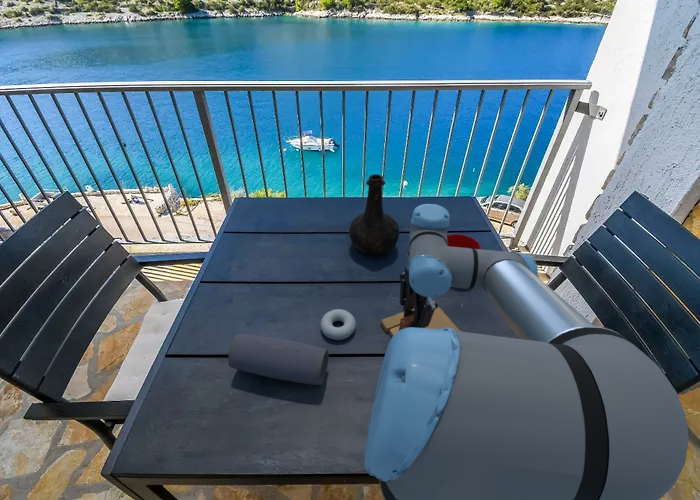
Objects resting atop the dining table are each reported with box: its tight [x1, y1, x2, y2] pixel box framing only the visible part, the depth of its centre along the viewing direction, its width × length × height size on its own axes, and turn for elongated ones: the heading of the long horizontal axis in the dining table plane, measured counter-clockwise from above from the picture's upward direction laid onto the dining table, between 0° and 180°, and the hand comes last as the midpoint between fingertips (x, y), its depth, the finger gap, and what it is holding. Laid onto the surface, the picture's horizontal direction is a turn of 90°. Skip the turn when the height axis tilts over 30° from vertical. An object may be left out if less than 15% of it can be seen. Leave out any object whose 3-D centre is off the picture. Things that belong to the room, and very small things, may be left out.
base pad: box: [380, 300, 461, 333], centre depth 97 cm, size 16×18×2 cm
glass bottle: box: [348, 173, 400, 256], centre depth 119 cm, size 18×18×28 cm
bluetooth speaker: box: [227, 333, 330, 386], centre depth 85 cm, size 23×9×10 cm, turn 78°
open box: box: [389, 314, 414, 338], centre depth 93 cm, size 8×8×9 cm
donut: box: [320, 308, 357, 341], centre depth 98 cm, size 10×3×10 cm
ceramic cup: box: [447, 233, 483, 250], centre depth 117 cm, size 13×17×10 cm
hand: (410, 332), depth 94 cm, fingers closed on open box, 2 cm apart
